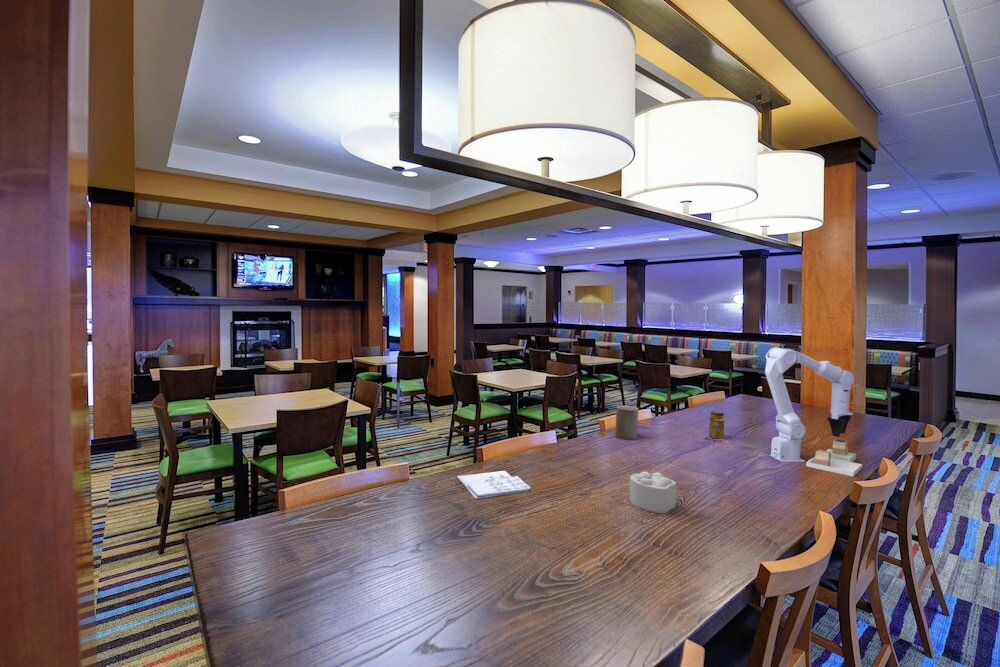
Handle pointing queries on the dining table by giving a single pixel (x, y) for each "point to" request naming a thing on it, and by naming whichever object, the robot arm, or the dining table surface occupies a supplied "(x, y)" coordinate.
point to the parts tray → (837, 466)
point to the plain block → (823, 458)
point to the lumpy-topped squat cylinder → (652, 492)
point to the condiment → (716, 425)
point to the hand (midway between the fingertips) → (838, 434)
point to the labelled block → (840, 447)
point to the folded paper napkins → (492, 484)
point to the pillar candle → (626, 422)
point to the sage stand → (849, 457)
